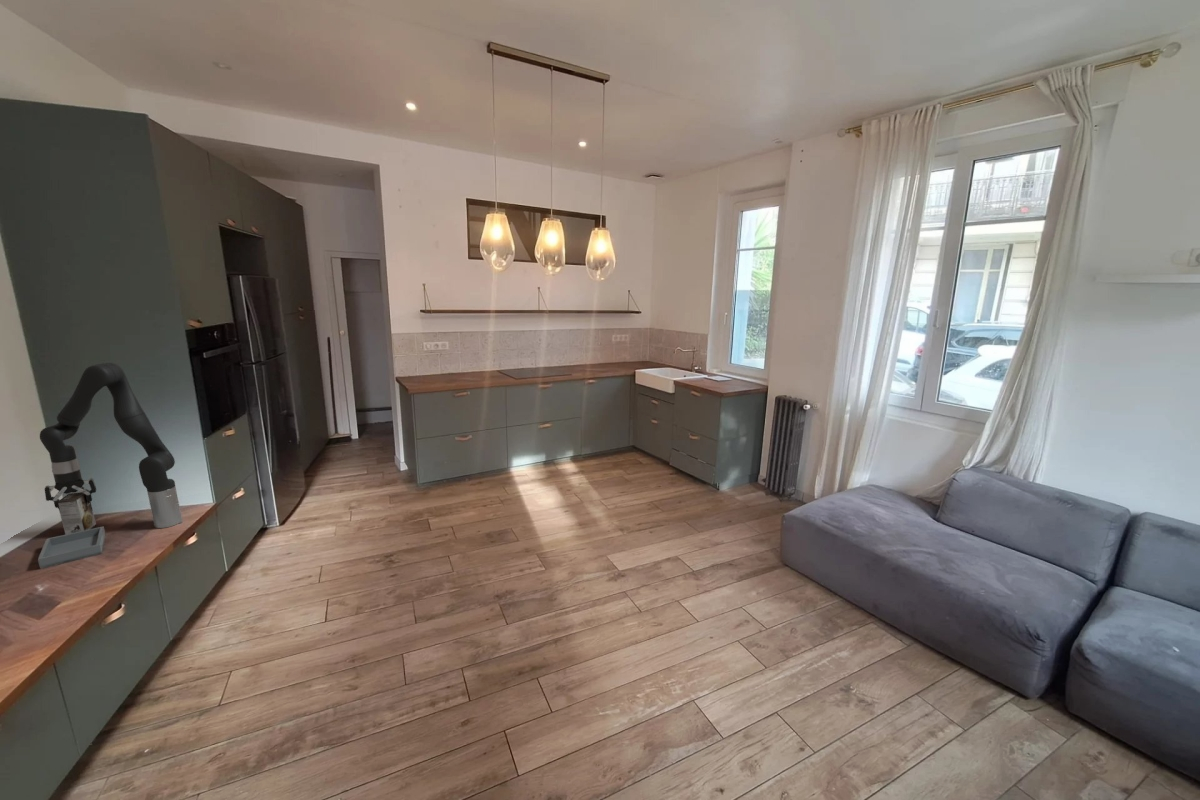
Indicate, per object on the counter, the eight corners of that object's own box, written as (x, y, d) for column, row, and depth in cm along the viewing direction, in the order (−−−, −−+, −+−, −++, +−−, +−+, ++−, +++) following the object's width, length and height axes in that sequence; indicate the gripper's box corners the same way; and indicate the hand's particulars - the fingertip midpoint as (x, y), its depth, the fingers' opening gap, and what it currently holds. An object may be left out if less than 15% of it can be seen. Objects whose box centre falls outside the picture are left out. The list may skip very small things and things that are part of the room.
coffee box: (77, 526, 204) (68, 493, 201) (96, 524, 207) (88, 491, 203) (64, 536, 196) (55, 501, 193) (85, 533, 199) (76, 499, 195)
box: (105, 534, 199) (103, 526, 198) (101, 553, 185) (99, 544, 184) (48, 547, 188) (46, 538, 187) (40, 569, 174) (37, 559, 173)
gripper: (91, 464, 203) (99, 498, 206) (42, 471, 193) (50, 506, 197) (90, 468, 198) (97, 503, 201) (38, 476, 188) (47, 513, 192)
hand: (74, 505), depth 199 cm, fingers open, 8 cm apart
